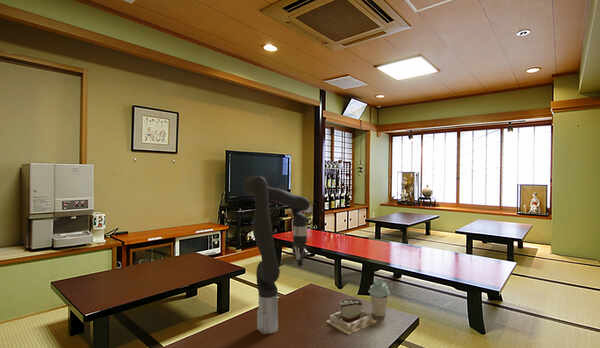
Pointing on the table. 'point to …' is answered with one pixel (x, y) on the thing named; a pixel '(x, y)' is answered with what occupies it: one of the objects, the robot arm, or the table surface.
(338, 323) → the holder
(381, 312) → the ice cream cone
